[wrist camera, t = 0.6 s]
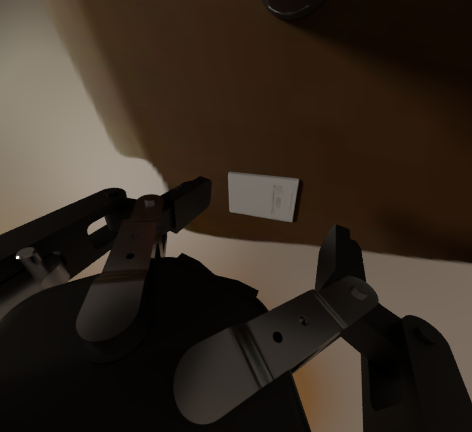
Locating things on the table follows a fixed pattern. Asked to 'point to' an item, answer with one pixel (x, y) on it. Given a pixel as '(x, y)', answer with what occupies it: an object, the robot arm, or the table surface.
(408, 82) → the table surface
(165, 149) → the table surface
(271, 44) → the table surface
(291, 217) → the external hard drive
